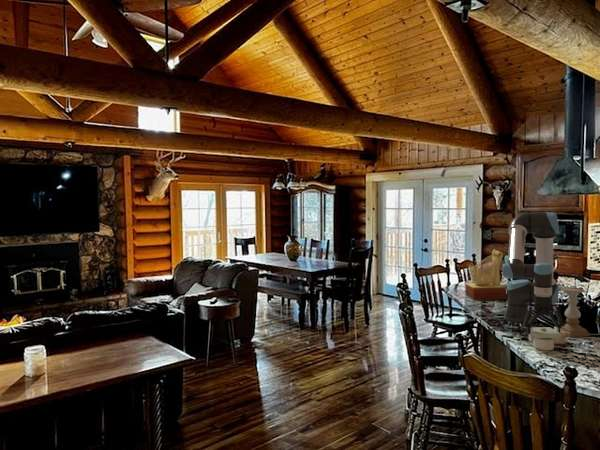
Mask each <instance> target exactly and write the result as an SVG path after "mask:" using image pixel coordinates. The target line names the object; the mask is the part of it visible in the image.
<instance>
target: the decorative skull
mask: <svg viewBox="0 0 600 450" xmlns="http://www.w3.org/2000/svg"><path fill="white" fill-rule="evenodd" d="M489 263H490V264H491V263H492V262H489ZM489 263H488V262H487V263H484V264H488V265H485V266H484V264H483V263H482V264H483V265H482V264H481V265H482V266H484V268H485V267H486V268H487V274H488V273H489V272H488V269H489V265H490V264H489ZM482 266H481V268H480V269H481V270H482V268H483V267H482ZM487 266H488V267H487ZM484 268H483V270H484ZM490 268H491V269H492V267H490ZM500 268H501V267H499V274H500V284H501V283H502V279H503V272H502V270H501V269H500ZM491 269H490V270H491ZM483 270H482V271H483ZM490 270H489V271H490ZM480 272H481V271H480ZM485 274H486V270H485ZM487 274H486V275H487ZM491 274H492V273H491ZM488 275H489V274H488ZM491 276H492V275H491Z"/></svg>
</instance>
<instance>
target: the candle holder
mask: <svg viewBox="0 0 600 450" xmlns="http://www.w3.org/2000/svg"><path fill="white" fill-rule="evenodd" d="M560 290H561V291H563V292H564V293H565V292H566V294H567V295H568V298H567V299H566V302H567V303H568V307H567V308H566V309H565V311H564V316H565V317H566V319H565V323H564V324H565V326H562V327H561V328H560V330H562V331H564V332H566V337H568V338H587V337H590V335H591V334H590V332H588V329H587V328H584V327H582V326H581V325H580V320H579V318H581V315H582V314H581V312H580V310H579V309H578V307H577V305H578V303H579V300H578V298H577V297H578V295H579V294H580V293H584V292H585V289H583V288H580V287H572V286H566V287H561V289H560Z"/></svg>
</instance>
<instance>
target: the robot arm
mask: <svg viewBox="0 0 600 450" xmlns="http://www.w3.org/2000/svg"><path fill="white" fill-rule="evenodd" d="M559 228H560V227H559V219H558V215H557V213H556V212H548V211H541V212H540V211H539V212H537V211H536V212H523V213H520V214H518V215H517V216H515V217H513V219H512V220H511V222H509V225H508V230H507V232H508V233H507V234H508V235H509V241H508V254H507V262H506V263H503V264H502V275H503V276H502V278H505V279H515V280H510V281H509V282H507V287H506V291H507V306H506V310H505V312H504V319H505V320H506V321H508V322H516V323H522V324H521V325H522V326H524V327H526V334H527V335H528V341H530V342H532V343H533V328H532V326H533V325H534V323H535V322H536V320H537V319H538V317H540V316H548V317H549V318H550V320H551V321H552V322H553V324H554V325H555V326H553V329H554V330H555V331H557V332H559V333H560V328H561V327H562V326H565V324H566V323H565V322H564V319H563V317H562V315H561V312H560V306H558V305H556V304H557V303H558V300H559V293H560V284H558V283H557V280H556V279H555V278H554V239H555V238H557V235H558V234H560V229H559ZM528 234H532V237H533V239H535V263H534V264H532V263H531V264H529V263H524V262H525V261H524V260H525V259H524V258H525V244H526V243H525V242H526V241H525V239H526V236H527V235H528ZM530 280H533V282H530ZM530 303H531V304H534V305H533V306H531V305H530ZM552 310H553V311H554V314H555V316H556V318H557V319H556V318H555V316H554V314H553V312H552ZM533 311H534V312H533ZM554 340H555V341H557V342H558V338H554Z"/></svg>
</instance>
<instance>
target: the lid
mask: <svg viewBox="0 0 600 450" xmlns="http://www.w3.org/2000/svg"><path fill="white" fill-rule="evenodd" d="M531 327H532V326H531ZM532 328H533V336H534V337H535V338H561V334H560V333H559V332H557V331H555V330H554V328H552V327H547V326H545V327H544V326H543V327H541V326H539V327H538V326H536V327H532Z"/></svg>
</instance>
